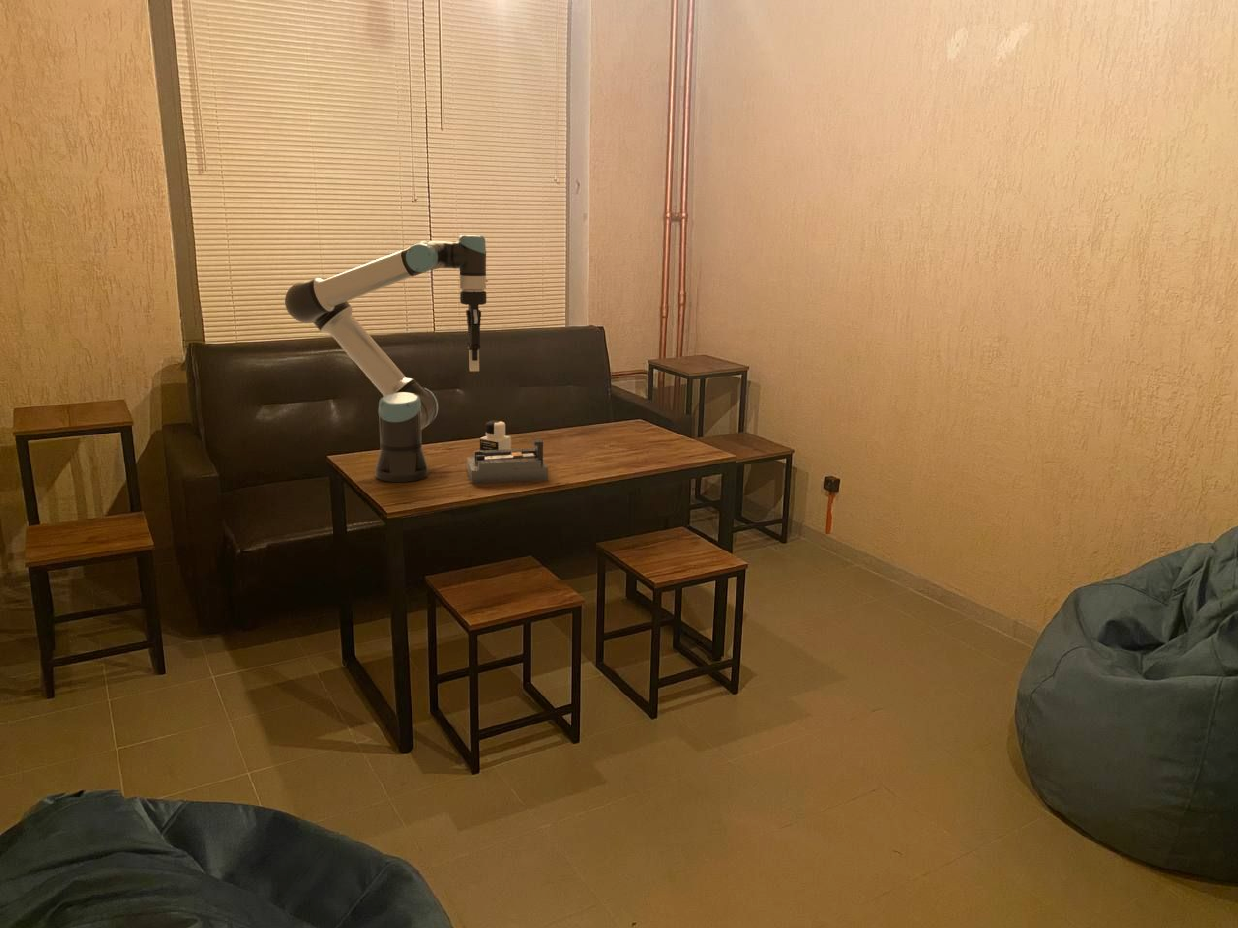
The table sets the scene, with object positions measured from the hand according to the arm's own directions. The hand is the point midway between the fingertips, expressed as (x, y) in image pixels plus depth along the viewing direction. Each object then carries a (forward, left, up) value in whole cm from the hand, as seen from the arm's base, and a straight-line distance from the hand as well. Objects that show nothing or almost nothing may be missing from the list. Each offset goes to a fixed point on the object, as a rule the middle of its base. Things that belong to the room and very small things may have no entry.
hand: (474, 370), depth 265 cm
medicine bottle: (+7, +7, -30) cm, 31 cm away
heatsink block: (+8, -11, -29) cm, 32 cm away
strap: (+8, -11, -25) cm, 28 cm away
